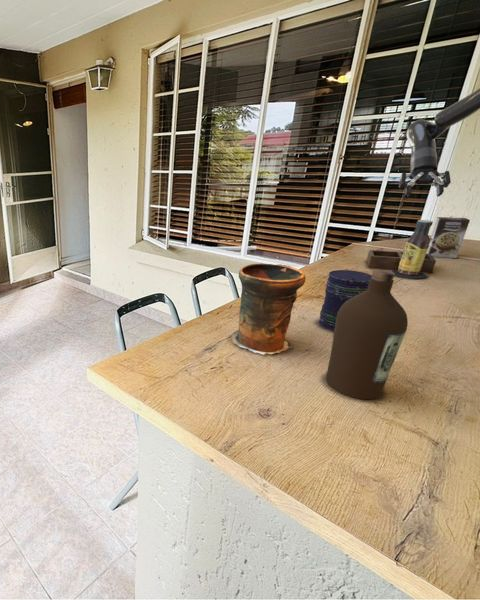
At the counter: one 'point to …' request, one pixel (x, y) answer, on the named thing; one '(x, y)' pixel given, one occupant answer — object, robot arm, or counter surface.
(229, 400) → the counter surface
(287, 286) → the vessel
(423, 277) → the coaster
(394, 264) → the tray
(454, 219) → the cookie box
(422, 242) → the sauce bottle
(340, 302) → the storage jar
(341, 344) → the olive oil
